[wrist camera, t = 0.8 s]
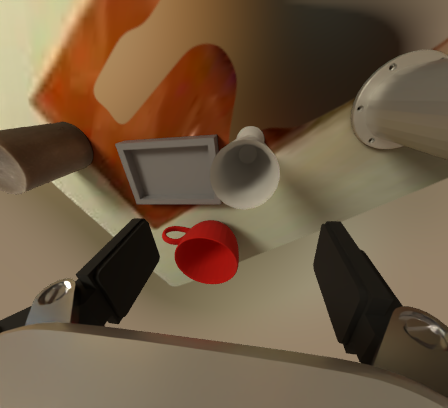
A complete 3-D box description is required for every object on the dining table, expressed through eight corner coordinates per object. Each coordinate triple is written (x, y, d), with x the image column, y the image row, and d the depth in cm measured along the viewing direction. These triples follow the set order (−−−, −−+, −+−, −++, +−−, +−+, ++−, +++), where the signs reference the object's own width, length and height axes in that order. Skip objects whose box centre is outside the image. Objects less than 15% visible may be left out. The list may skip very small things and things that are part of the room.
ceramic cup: (184, 192, 41) (164, 217, 33) (251, 224, 43) (250, 256, 34) (169, 231, 48) (149, 261, 39) (228, 258, 49) (221, 292, 41)
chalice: (261, 165, 35) (264, 216, 20) (227, 155, 36) (204, 199, 20) (275, 125, 32) (292, 150, 16) (237, 114, 32) (218, 129, 16)
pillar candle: (59, 110, 36) (-50, 118, 24) (101, 149, 39) (24, 174, 26) (45, 143, 41) (-54, 165, 28) (83, 176, 43) (10, 209, 31)
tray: (216, 134, 34) (213, 137, 31) (223, 197, 40) (220, 204, 38) (125, 140, 37) (115, 143, 35) (143, 197, 44) (136, 204, 41)
